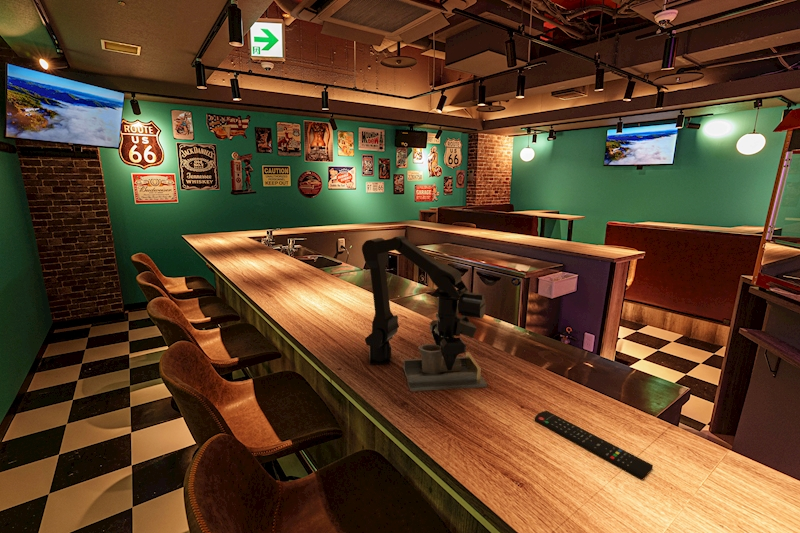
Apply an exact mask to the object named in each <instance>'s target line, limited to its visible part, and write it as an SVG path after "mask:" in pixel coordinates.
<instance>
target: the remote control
mask: <svg viewBox="0 0 800 533" xmlns="http://www.w3.org/2000/svg"><path fill="white" fill-rule="evenodd" d="M534 422H536V423H538V424H540V425H541V426H544V427H545V428H547V429H549V430H550V431H553V432H554V433H556V434H558V435H560V436H562V437H564V438H565V439H567V440H568V441H571V442H572V443H574V444H576V445H578V446H580V447H582V448H583V449H585V450H587V451H589V452H590V453H592V454H595V455H596V456H598V457H599V458H602V459H603V460H606V461H607V462H608V463H611V464H612V465H614V466H615V467H618V468H619V467H620V469H621V468H622V470H623V469H624V470H623V471H625V470H626V472H627V473H629V474H630V473H631V474H630V475H632V476H634V477H636V476H637V477H636V478H638V479H639V478H640V479H639V480H641V479H643V478H644V479H645V478H646V477H647V475H648V474H649V473H650V472H651V471H652V469H653V466H654V465H653V464H651V463H650V462H648V461H646V460H644V459H642V458H640V457H639V456H636V455H634V454H632V453H630V452H628V451H626V450H624V449H622V448H621V447H619V446H617V445H615V444H613V443H611V442H609V441H607V440H605V439H603V438H601V437H599V436H597V435H595V434H593V433H591V432H589V431H587V430H585V429H584V428H581V427H579V426H577V425H575V424H574V423H572V422H569V421H568V420H566V419H564V418H562V417H560V416H558V415H556V414H555V413H552V412H550V411H548V410H544V411H541V412H538V414H536V415H535V417H534ZM650 470H651V471H650ZM649 471H650V472H649ZM648 472H649V473H648ZM647 473H648V474H647ZM644 479H643V480H644Z"/></svg>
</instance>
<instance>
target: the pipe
mask: <svg viewBox="0 0 800 533" xmlns="http://www.w3.org/2000/svg"><path fill="white" fill-rule="evenodd" d="M417 348H418V352H419V354H420V359H422V371H423V372H424V373H426V374H438V373H440V372H460V371H461V361H460V359H455V362H454V365H453V367H452V370H447V367H446V364H445V361H444V360H442V358H443V356H442V352H441V346H439V345H436V344H435V343H434V344H432V343H425V344H423V345H422V344H421V345H419V346H418V347H417Z"/></svg>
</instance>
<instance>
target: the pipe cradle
mask: <svg viewBox="0 0 800 533" xmlns="http://www.w3.org/2000/svg"><path fill="white" fill-rule="evenodd" d="M456 359H460V361H461V371H460V372H440V373H438V374H426V373H424V372H423V371H422V359H421V358H408V359H406V358H405V359H403V365H402V366H403V372H404V374H405V379H406V382H407V386H408V388H409V391H410V392H421V391H424V392H425V391H440V390H441V391H442V390H457V389H458V390H461V389H477V388H488V384H487V382H486V379H484V377H483V376H482V375H481V373H482V368H481V366H480V365H479V363H477V361H476V359H475V358H474V357H473V356H472V354H471V353H470V352H469V351H466V352H465V356H457V357H456ZM442 360H444V358H443V357H442Z"/></svg>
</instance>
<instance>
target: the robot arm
mask: <svg viewBox="0 0 800 533" xmlns="http://www.w3.org/2000/svg"><path fill="white" fill-rule="evenodd" d="M393 251H396V252H398V253H399V254H401V255H402V256H403V257H404V258H405V259H407V260H409V261H410V262H411V263H413V265H415V266H417V267H418V268H419V269H421V270H422V271H423V272H424V273H426V275H427V276H428V277H429V279H430V281H431V282H432V283H433V284H434V285H435V286H436V287H437V288H436V289H435V290H434V291H433V292H432V293H430V296H431V297H435V298H437V313H435V318H436V320H432V321H431V322H430V323H429V330H430V333H431V335H432V336H431V337H432V338H433V341H434V344H435V345H439V346H441V352H442V358H444V361H445V364H446V367H447V370H452V367H453V365H454V362H455V359H456V357H458V356H459V355H462V354H466V352H467V350H466V349H467V345H466V343H465V342H464V341H463V340H462V339H461V338H460V336H461V335H463V336H466V337H469V339H473V338H474V336H475V335H476V332H477V330H478V328H477V326H476V325H475V324H474V323H472V322H471V321H470V319H469V317H470V318H476V319H480V320H482V319H484V317H485V313H486V308H487V305H486V304H487V303H486V299H485V294H484V293H481V292H479V293H478V292H477V293H476V292H469V288H468V287H467V286H466V284H465V282H464V281H463V280H462V273H461V272H460V271H459V269H457V268H455V267H452V266H451V265H450V264H445V263H444V262H443V263H442V262H440V261H438V260H436V259H435V258H433V257H432V256H430V255H429V254H428V253H427V252H425V251H424V250H422V249H421V248H419V246H417V245H416V244H414V243H412V241H410V240H409V239H408V238H407V237H406V236H404V235H397V236H394V237H392V238H388V239H384V238H382V237H377V238H372V239H367V240H365V241H364V243H362V245H361V252H362V256H363V259H364V262H365V264H366V265H367V266H368V267H369V272H370V279H371V289H372V298H373V305H374V317H373V319H372V323H371V333H370V334H369V335H368V336H367V337H365V338H364V342H365V345H366V346H368V347H369V354H368V361H369V365H384V364H385V365H389V364H390V363H391V360H392V345H391V342H390V340H392V339H393V337H394V336H395V335H397V332H398V329H399V328H400V325H399V322H398V321H399V317H398V314H397V315H394V314H393V313H392V311H391V304H390V303H391V302H390V296H389V287H388V279H387V271H386V270H387V268H386V267H387V266H386V265H387V262H388V259H389V252H393ZM458 314H460V317H459V316H458Z"/></svg>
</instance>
